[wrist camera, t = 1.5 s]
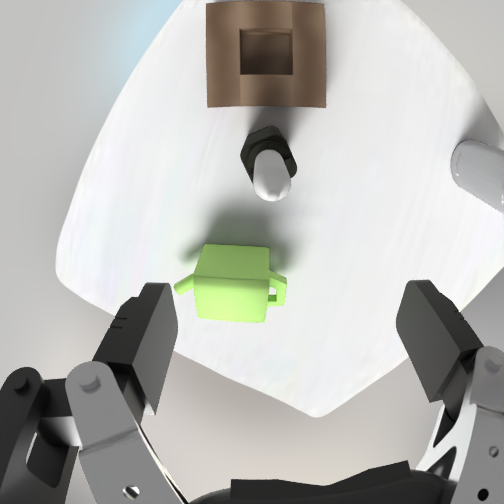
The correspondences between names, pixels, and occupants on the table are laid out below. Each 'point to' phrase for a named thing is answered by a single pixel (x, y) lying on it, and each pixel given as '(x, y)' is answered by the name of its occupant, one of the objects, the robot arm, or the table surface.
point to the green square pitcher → (234, 283)
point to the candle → (269, 163)
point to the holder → (265, 54)
